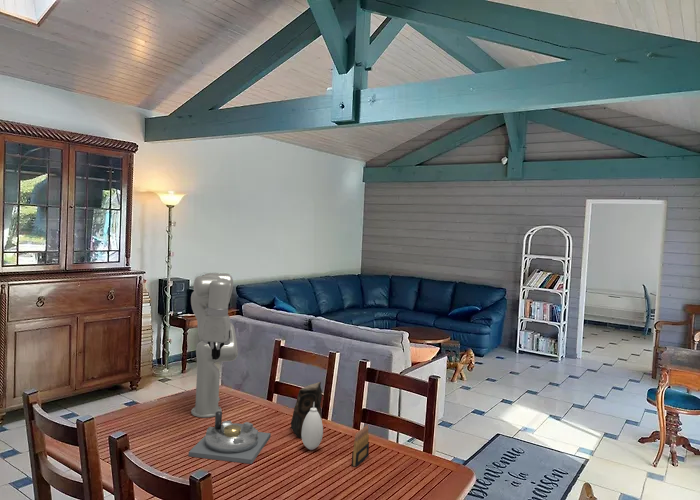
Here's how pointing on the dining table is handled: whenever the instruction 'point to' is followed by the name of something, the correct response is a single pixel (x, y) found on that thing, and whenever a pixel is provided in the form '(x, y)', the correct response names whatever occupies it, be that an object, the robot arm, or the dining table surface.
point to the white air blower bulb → (312, 429)
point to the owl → (306, 406)
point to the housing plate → (242, 457)
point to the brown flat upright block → (360, 447)
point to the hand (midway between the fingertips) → (215, 358)
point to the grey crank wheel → (230, 436)
